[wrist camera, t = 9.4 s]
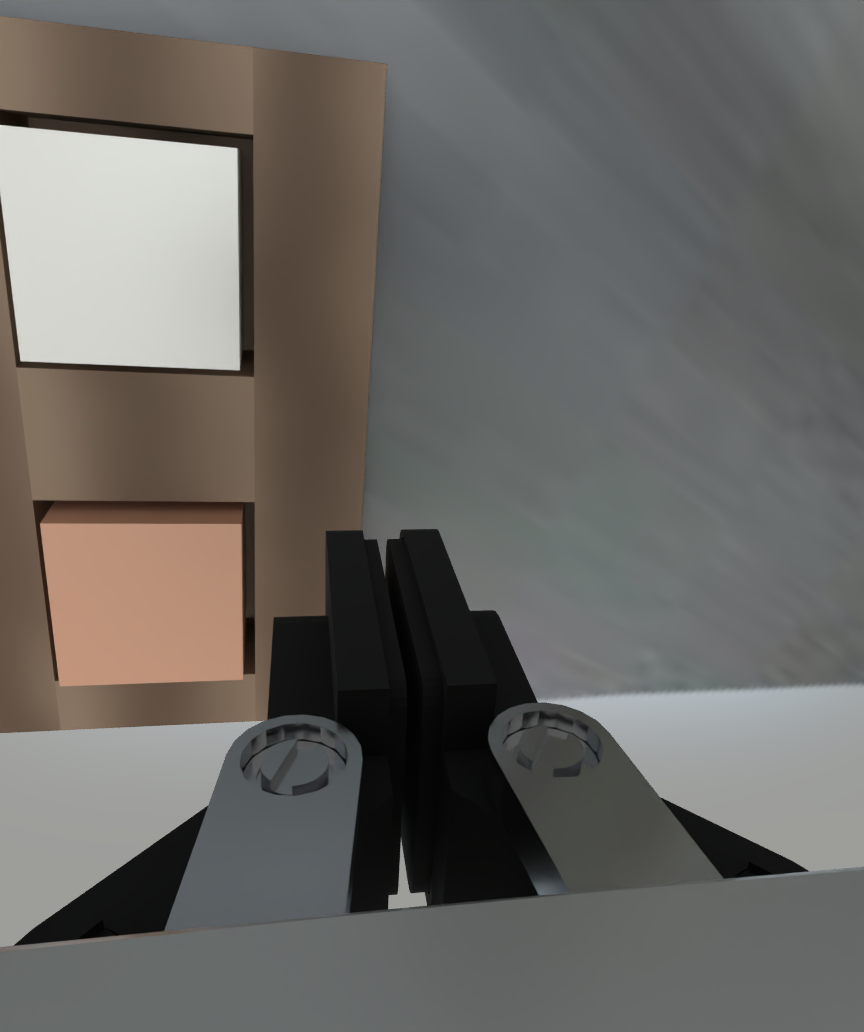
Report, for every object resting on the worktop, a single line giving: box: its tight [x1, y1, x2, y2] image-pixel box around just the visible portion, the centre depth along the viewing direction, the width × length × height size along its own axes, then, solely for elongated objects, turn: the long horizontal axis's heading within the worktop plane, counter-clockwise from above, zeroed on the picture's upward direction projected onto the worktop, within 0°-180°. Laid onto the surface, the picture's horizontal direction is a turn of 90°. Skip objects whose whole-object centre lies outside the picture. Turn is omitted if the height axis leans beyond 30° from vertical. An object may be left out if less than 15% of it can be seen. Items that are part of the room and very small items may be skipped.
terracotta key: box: [40, 500, 246, 686], centre depth 27 cm, size 6×6×4 cm
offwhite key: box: [0, 125, 244, 370], centre depth 23 cm, size 6×6×4 cm
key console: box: [0, 16, 387, 733], centre depth 27 cm, size 14×22×5 cm, turn 175°
